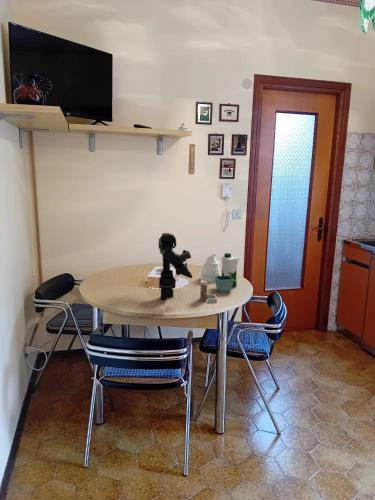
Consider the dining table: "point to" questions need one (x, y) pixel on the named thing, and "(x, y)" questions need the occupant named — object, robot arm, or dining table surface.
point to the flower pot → (224, 283)
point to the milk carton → (230, 267)
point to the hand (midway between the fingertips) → (191, 277)
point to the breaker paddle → (203, 290)
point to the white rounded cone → (210, 269)
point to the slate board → (212, 297)
